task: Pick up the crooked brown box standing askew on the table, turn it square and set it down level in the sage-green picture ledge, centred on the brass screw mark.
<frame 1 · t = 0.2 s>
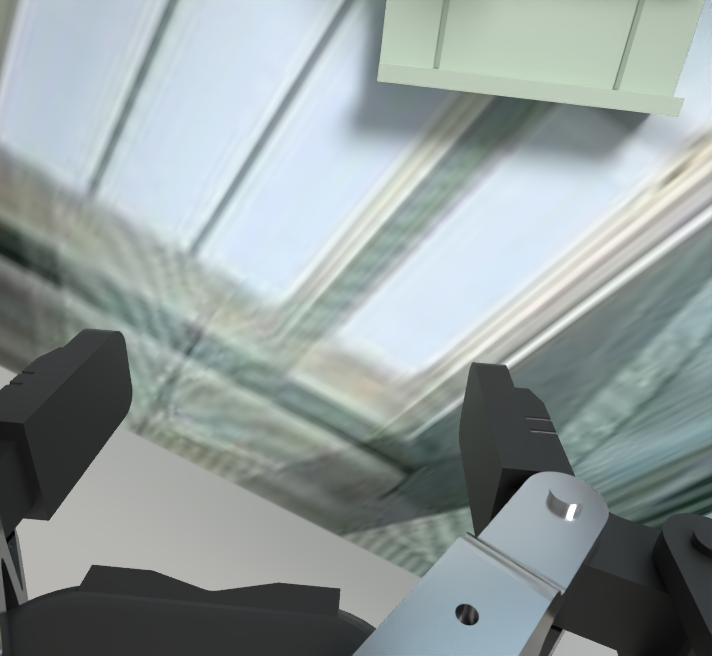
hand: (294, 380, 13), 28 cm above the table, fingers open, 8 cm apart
ledge: (532, 16, 33), on the table
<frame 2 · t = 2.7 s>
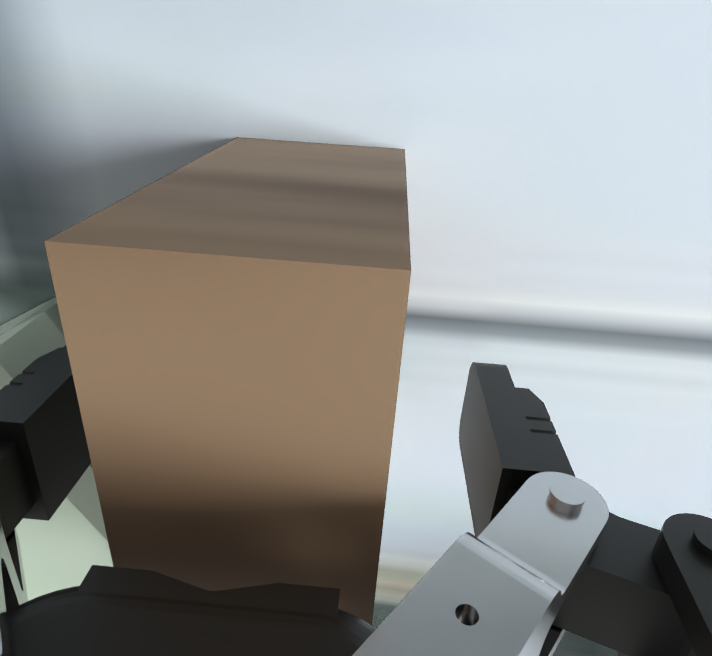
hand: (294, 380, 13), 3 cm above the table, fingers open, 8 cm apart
brown box: (315, 329, 15), on the table
ledge: (150, 542, 20), on the table
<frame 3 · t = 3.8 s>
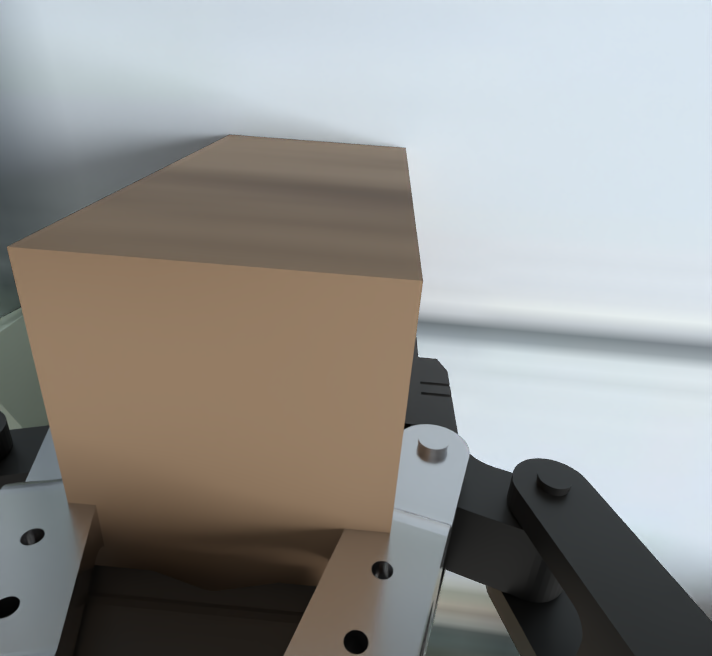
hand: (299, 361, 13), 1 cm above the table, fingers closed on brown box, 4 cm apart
brown box: (311, 336, 15), on the table, touching gripper
ledge: (136, 553, 19), on the table
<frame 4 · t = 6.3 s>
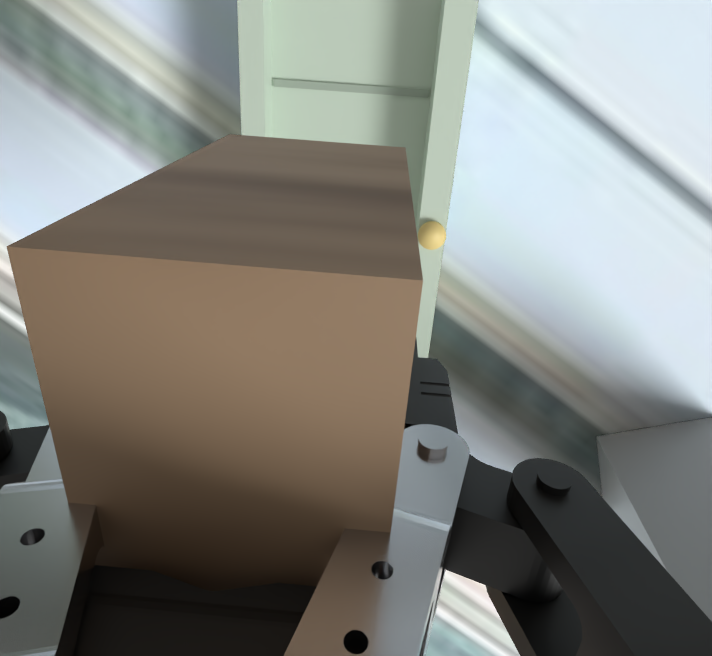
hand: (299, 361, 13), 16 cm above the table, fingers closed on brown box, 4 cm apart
brown box: (311, 335, 15), point 14 cm above the table, touching gripper
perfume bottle: (655, 467, 34), on the table
ledge: (349, 204, 27), on the table
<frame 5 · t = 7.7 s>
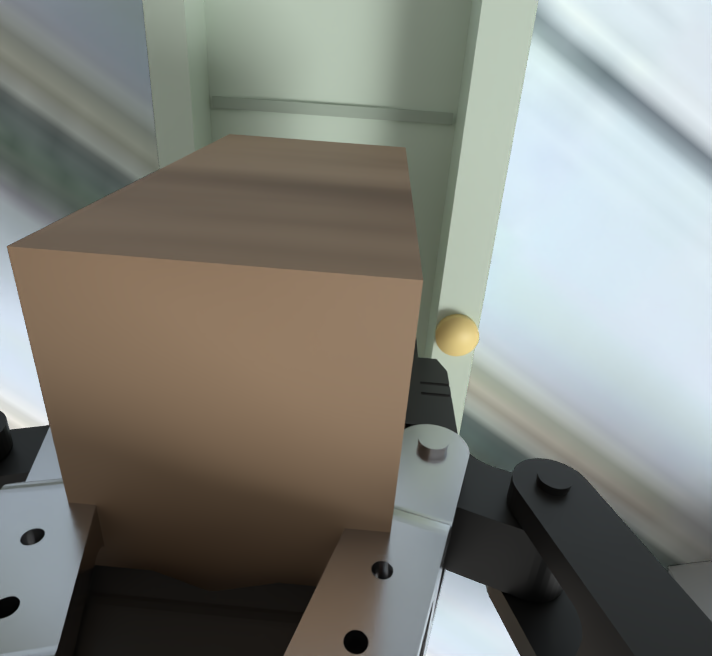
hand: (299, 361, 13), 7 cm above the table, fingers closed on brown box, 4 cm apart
brown box: (311, 335, 15), point 5 cm above the table, touching gripper
ledge: (334, 271, 19), on the table
when the fingers open (5 cm above the table, at t = 8.9 s): brown box drops 1 cm, resting on ledge.
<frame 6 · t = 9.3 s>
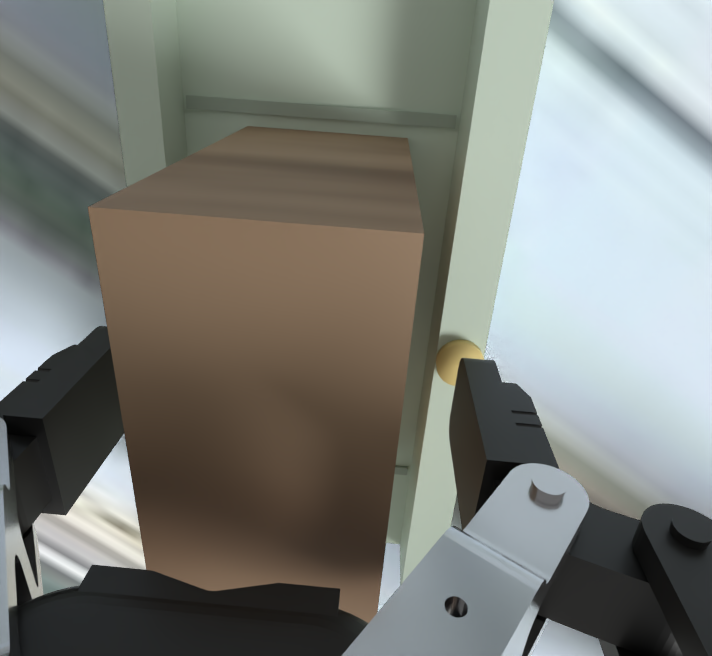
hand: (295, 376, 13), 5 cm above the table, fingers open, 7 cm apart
brown box: (320, 313, 16), point 2 cm above the table, touching ledge
ledge: (325, 287, 18), on the table
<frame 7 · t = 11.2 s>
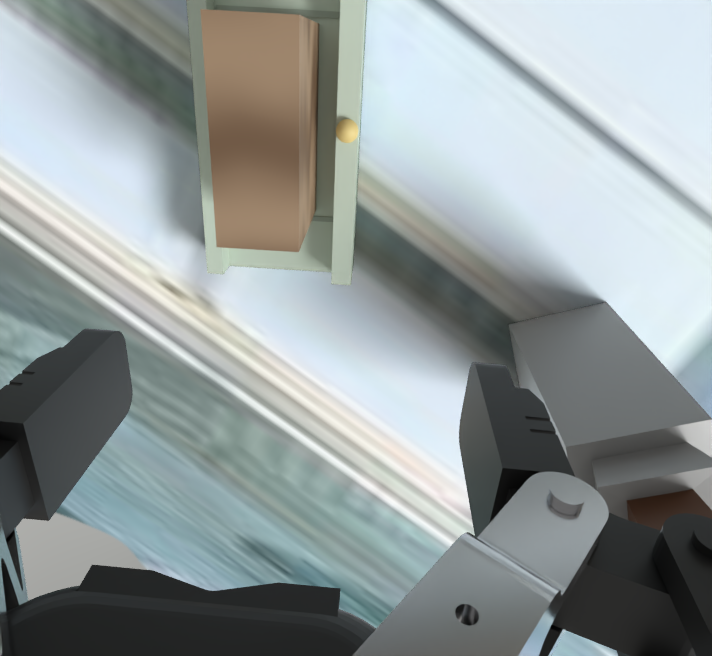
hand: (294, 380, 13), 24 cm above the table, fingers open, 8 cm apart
brown box: (282, 121, 31), point 2 cm above the table, touching ledge
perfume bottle: (561, 352, 40), on the table
ledge: (286, 118, 33), on the table
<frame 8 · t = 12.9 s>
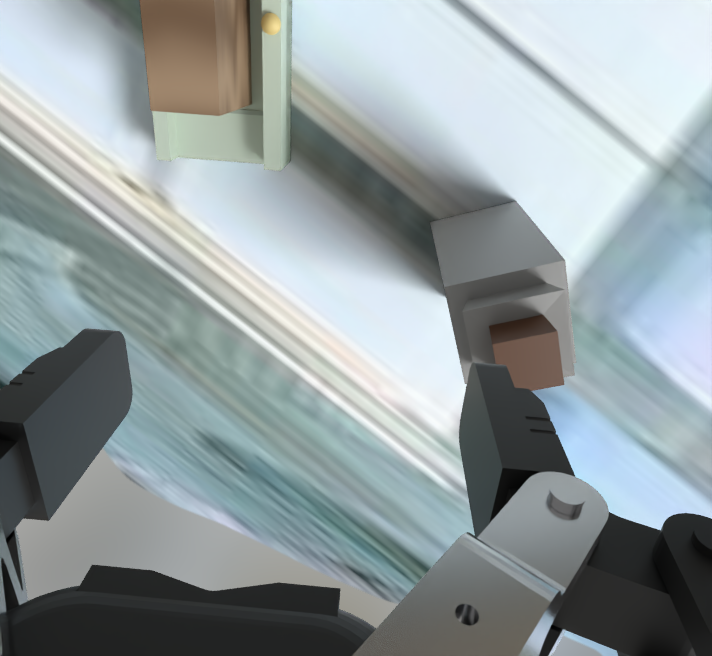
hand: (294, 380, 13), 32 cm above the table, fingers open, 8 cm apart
brown box: (220, 20, 36), point 2 cm above the table, touching ledge
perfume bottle: (479, 250, 44), on the table
ledge: (227, 22, 38), on the table
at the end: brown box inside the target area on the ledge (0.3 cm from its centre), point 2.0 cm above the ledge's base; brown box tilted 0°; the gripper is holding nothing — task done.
